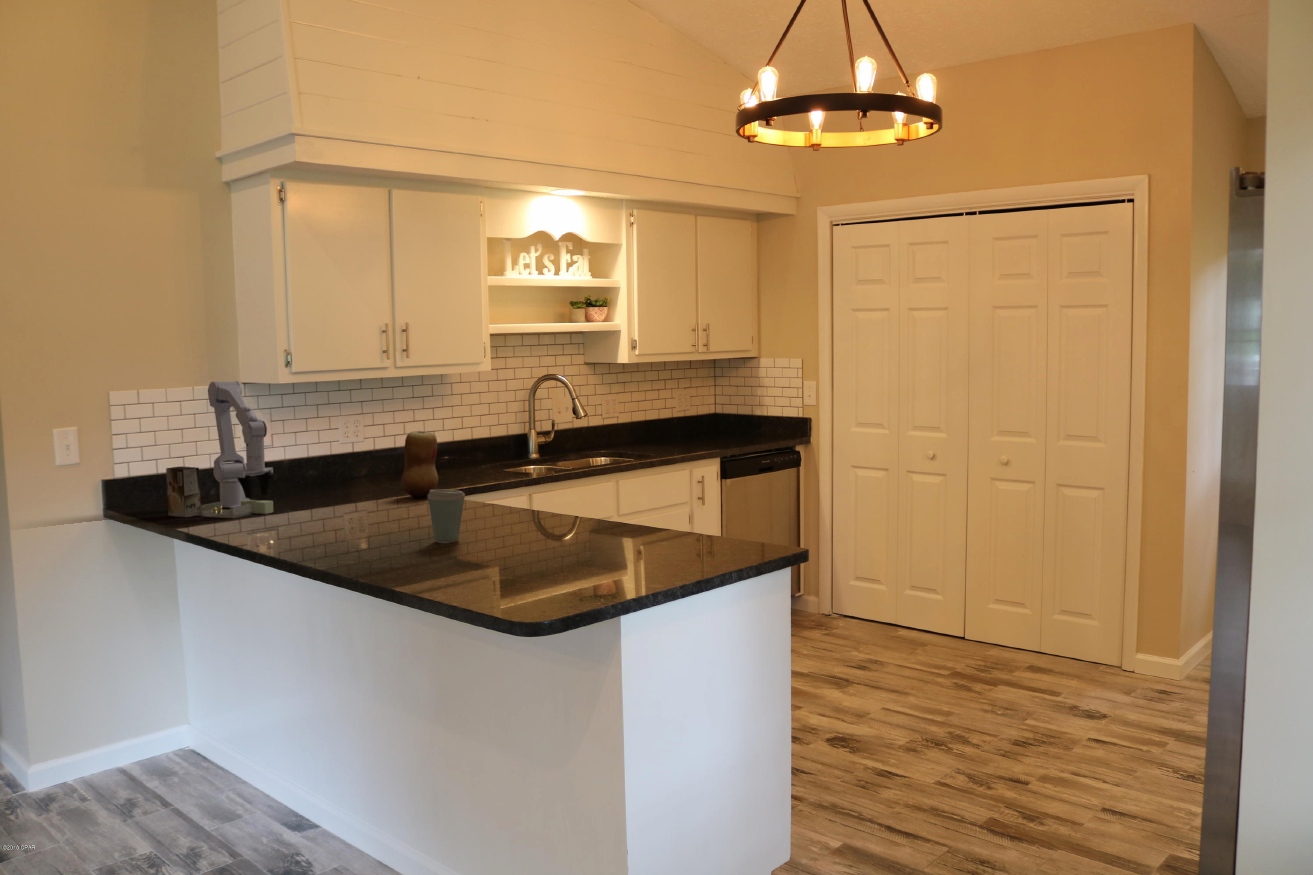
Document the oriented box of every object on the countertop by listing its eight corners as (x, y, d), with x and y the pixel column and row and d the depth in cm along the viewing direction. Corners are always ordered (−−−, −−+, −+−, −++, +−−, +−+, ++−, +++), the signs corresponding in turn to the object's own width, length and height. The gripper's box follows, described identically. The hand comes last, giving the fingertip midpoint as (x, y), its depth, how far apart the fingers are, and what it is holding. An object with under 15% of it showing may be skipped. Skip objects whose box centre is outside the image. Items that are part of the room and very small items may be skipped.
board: (241, 512, 343) (240, 501, 342) (249, 511, 346) (249, 499, 346) (265, 514, 339) (264, 502, 339) (273, 512, 343) (273, 501, 343)
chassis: (199, 516, 334) (198, 505, 334) (219, 512, 343) (218, 501, 342) (233, 518, 330) (232, 507, 329) (252, 514, 338) (252, 503, 338)
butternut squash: (433, 500, 371) (432, 432, 369) (397, 500, 371) (396, 432, 369) (442, 494, 385) (441, 429, 383) (407, 494, 385) (406, 429, 383)
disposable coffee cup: (449, 536, 296) (449, 486, 294) (474, 541, 289) (473, 489, 288) (420, 542, 287) (419, 489, 286) (444, 546, 281) (443, 493, 279)
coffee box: (202, 515, 337) (200, 467, 335) (185, 517, 331) (183, 469, 330) (183, 513, 341) (182, 465, 340) (166, 515, 335) (165, 467, 334)
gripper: (249, 459, 333) (251, 499, 334) (279, 455, 347) (280, 494, 348) (232, 458, 336) (234, 498, 337) (262, 454, 349) (264, 493, 350)
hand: (256, 496), depth 342 cm, fingers open, 7 cm apart
